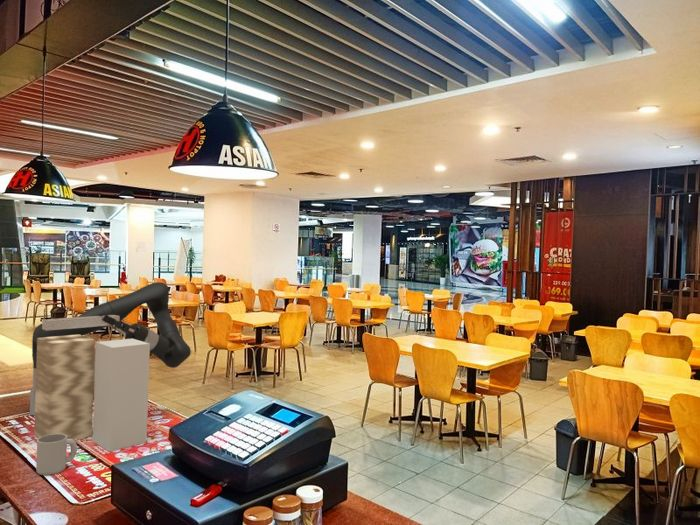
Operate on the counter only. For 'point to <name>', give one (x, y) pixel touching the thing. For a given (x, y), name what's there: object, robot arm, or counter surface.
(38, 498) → the counter surface
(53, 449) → the cup
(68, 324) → the wooden block
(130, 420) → the block
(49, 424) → the walnut stand
